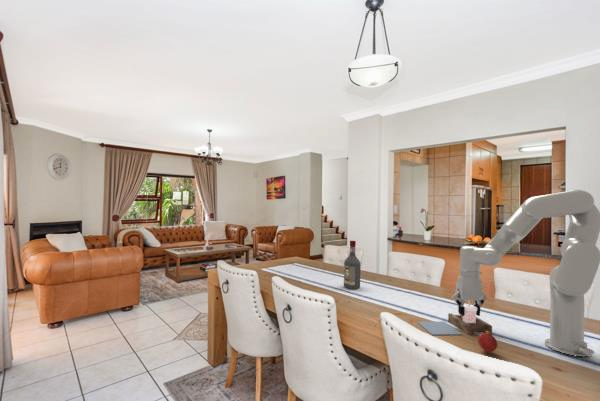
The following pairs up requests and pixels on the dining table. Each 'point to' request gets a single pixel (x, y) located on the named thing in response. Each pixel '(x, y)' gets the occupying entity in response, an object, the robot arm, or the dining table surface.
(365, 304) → the dining table surface
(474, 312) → the beverage cup
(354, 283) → the liquor
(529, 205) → the robot arm
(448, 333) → the mat
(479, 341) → the onion
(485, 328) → the wooden crate
